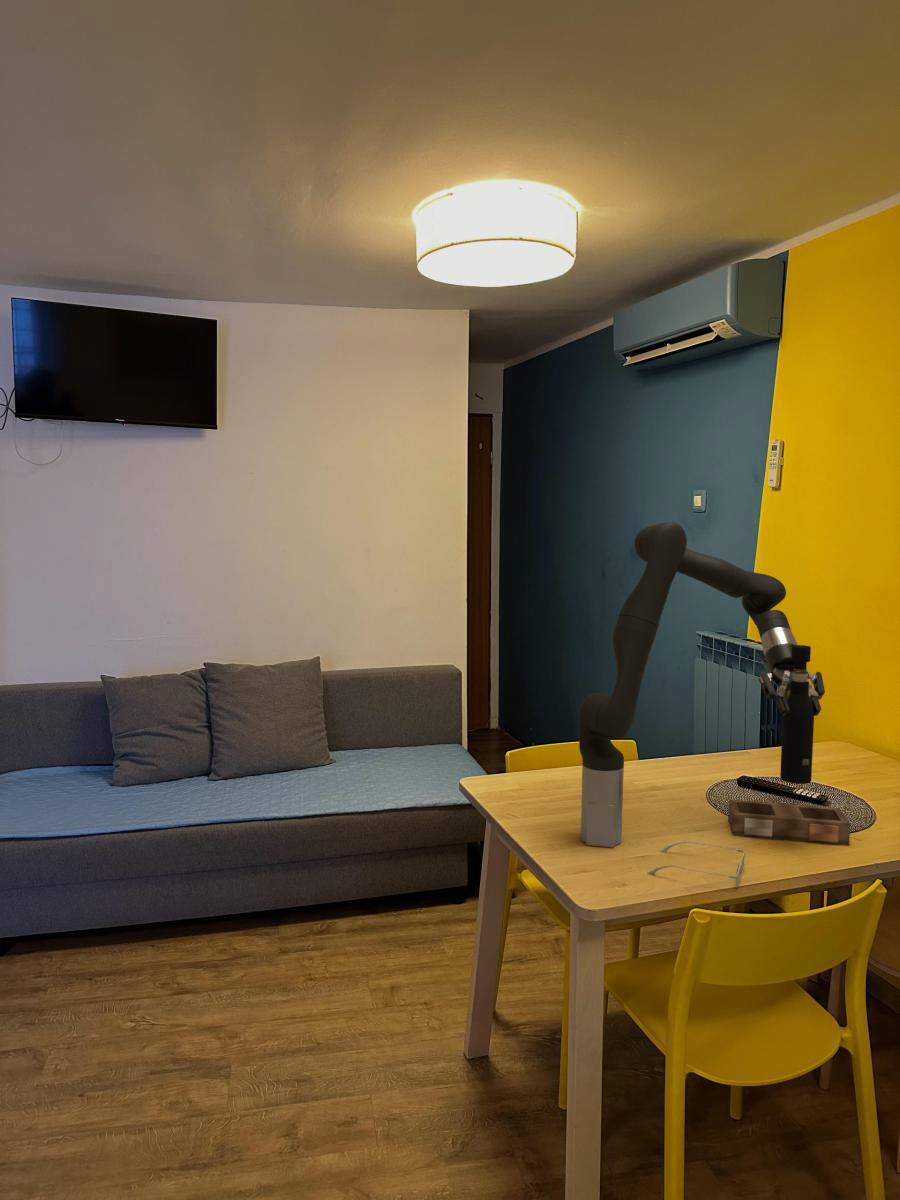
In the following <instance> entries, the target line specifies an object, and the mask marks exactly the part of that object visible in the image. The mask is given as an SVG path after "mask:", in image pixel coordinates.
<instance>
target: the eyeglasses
mask: <svg viewBox="0 0 900 1200" xmlns="http://www.w3.org/2000/svg"><path fill="white" fill-rule="evenodd" d="M680 844H695V845H697V844H698V845H701V843H699V842H693V841H682V842H681V841H680V842H676V843H672V844H670V845H667V846H665V847H663V848H662V849H659V853H667V852H668V850H670V848H672V847H675V846H676V845H677V846H678V845H680ZM702 845H704V846H707V844H705V843H702ZM708 846H710V847H713V845H712V844H708ZM714 847H716V848H721V849H728V850H732V851H737V853H742V856H741V860H740V863H738V864H737V868H736V871H735V874H736V875H730V874H729V875H727V874H726V875H724V874H719V873H713V872H708V871H707V872H706V871H702V870H696V869H691V868H687V867H684V866H683V867H682V866H680V865H679V866H678V865H677V866H676V865H664V866H660V867H656V868H654V869H651V870H649V871H647V872H646V875H649V876H654V875H655V874H656V873H657V872H658V871H660V870H662V869H666V868H679V869H684V870H688V871H689V870H690V871H694V872H695V871H696V872H700V873H705V874H711V875H716V876H722V877H727V878H729V879H732V880H733V879H734V880H735V888H738V885H739V882H740V880H741V879H740V877H741V874H743V868H744V865H745V858H746V857H745V856H746V855H745V854H746V851H745V850H744V849H739V848H738V849H735V848H734V849H733V848H729V847H728V848H727V847H723V846H719V845H718V846H716V845H714Z"/></svg>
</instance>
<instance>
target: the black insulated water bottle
mask: <svg viewBox="0 0 900 1200" xmlns="http://www.w3.org/2000/svg"><path fill="white" fill-rule="evenodd" d="M811 649H812V647H811V646H810V645H806V644H805V645H804V644H797V645H793V646H792V653H791V660H792V661H794V670H795V672H793V674H792V675H793V677H792V680H791V684H790V691H789V695H788V696H787V698H786V699H787V703H788V706H789V709H790V713H789V714H788V716H784V715H783V714H782V723H781V724H782V725H781V727H782V728H781V747H780V749H781V750H780V775H779V777H780V778H779V779H781V781H783V782H786V783H791V784H795V785H798V784H799V785H806V784H810V783H811V782H812V777H813V776H812V774H813V773H812V772H813V771H812V769H813V751H814V750H813V749H814V731H815V729H814V727H815V716H814V713H813V707H812V703H811V700H810V697H809V682H810V681H809V679H808V678H807V677H808V673H809V672H808V673H807V672H800V671H806V670H807V669H808V668H807V666H808V664H807V663H809V662H811V652H812V650H811ZM807 671H808V670H807ZM807 680H808V681H807Z"/></svg>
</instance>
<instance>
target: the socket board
mask: <svg viewBox="0 0 900 1200" xmlns="http://www.w3.org/2000/svg"><path fill="white" fill-rule="evenodd" d="M727 816H728V823H729V827H730V831H731V834H732V835H731V836H736V837H737V836H738V837H747V838H759V839H760V838H761V839H771V840H783V841H793V842H794V841H795V842H806V843H817V844H826V845H827V844H829V845H837V846H838V845H840V846H850V838H851V837H850V835H851V834H850V833H851V823H850V821H849V820H848V818H847V817H846V815H845V814H844V813H843V811H842V809H841V808H839V807H830V806H818V805H816V806H815V805H805V804H804V805H803V804H793V803H789V804H788V803H777V802H767V801H766V802H764V801H754V800H753V801H752V800H742V799H741V800H739V799H728V815H727Z"/></svg>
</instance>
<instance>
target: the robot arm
mask: <svg viewBox="0 0 900 1200" xmlns="http://www.w3.org/2000/svg"><path fill="white" fill-rule="evenodd" d="M687 540H688V539H687V533H686V531H685V529H684V528H683V527H682V525H681V524H679V523H678V522H677V523H676V522H673V521H668V522H660V523H657V524H651V525H648V526H646V527H644V528H642V529H641V530H640V531H638V532H637V534H636V537H635V539H634V550H635V552H636V554H637V556H638V557H639V558H640V559H641V560H642V561H643V562H646V566H645V569H644V572H643V575H642V576H641V578H640V579H639V582H637V584H636V585H635V587H634V588H633V589H632V591H631V592H630V594H629V595H628V596H627V598H626V600H625V601H624V603H623V604H622V606H621V609H620V611H619V613H618V616H617V620H616V622H615V625H614V628H613V632H612V638H611V639H612V647H613V648H612V649H613V654H614V657H615V663H616V668H617V669H616V670H617V674H616V675H617V676H616V681H615V685H614V688H613V692H612V695H608V694H604V693H598V692H597V693H596V692H592V693H590V694H588V695H587V696H586V697H584V698H583V700H582V702H581V704H580V707H579V711H578V740H579V741H578V743H579V744H578V747H579V753H580V755H581V758H582V762H581V763H582V764H581V765H582V769H581V770H582V772H581V773H582V774H581V806H580V807H581V809H580V840H581V841H582V842H583V843H585V845H587V846H595V847H604V848H605V847H606V848H615V846H618V845H619V844H621V843H622V841H623V840H622V839H623V811H624V810H623V806H624V805H623V803H624V799H623V798H624V776H625V775H624V769H625V767H624V766H625V757H624V754H623V753H622V751H621V750H619V749H618V748H617V747H616V746H615V745H614V744H613V743H612V742H613V741H611V740H616V741H617V740H622V739H623V738H624V737H626V736H627V734H628V733H629V732H630V730H631V728H632V725H633V722H634V718H635V714H636V710H637V706H638V701H639V695H640V690H641V685H642V680H643V677H644V674H645V669H646V666H647V662H648V660H649V656H650V653H651V649H652V647H653V644H654V641H655V638H656V635H657V631H658V628H659V627H660V626H659V625H660V622H661V617H662V614H663V610H664V608H665V606H666V605H665V604H666V602H667V599H668V595H669V593H670V589H671V586H672V584H673V582H674V579H675V576H676V574H677V573H680V574H682V575H685V576H687V577H689V578H692V579H694V580H697V581H698V582H701V583H703V584H705V585H708V586H709V587H711V588H713V589H715V590H717V591H718V592H721V593H722V594H725V595H727V596H729V597H731V598H735V599H738V598H741V605H742V608H743V609H744V611H745V612H746V614H748V616H749V618H750V619H751V621H752V622H753V624H755V626H756V628H757V630H758V635H759V637H760V641H761V646H762V647H761V648H762V652H763V654H764V657H765V660H766V661H765V662H766V663H767V666H768V669H769V672H770V673H767V672H765V671H762V672H761V673H760V676H759V677H758V682H759V684H760V687H761V688H762V690H763V692H764V695H765V697H766V699H767V700H769V701H772V700H774V701H775V702H776V703H777V707H778V709H779V713H780V714H782V716H783V715H784V716H788V714H789V713H790V709H789V706H788V703H787V699H788V698H787V697H786V696H785V694H786V692H790V684H791V680H792V677H793V675H792V674H793V672H795V670H794V661H792V660H791V653H792V646H793V645H798V642H797V640H796V637H795V636H794V633H793V631H792V628H791V625H790V623H789V621H788V617H787V616H786V614H785V613H784V612H783V611H782V610H779V609H774V608H775V607H777V606H778V605H779V604H780V603H781V602H783V601H784V599H785V598H786V596H787V589H786V586H785V585H784V584H783V583H782V581H780V580H779V579H778V578H776V577H774V576H772V575H769V574H765V573H759V572H756V571H755V572H754V571H748V570H745V569H742V568H741V567H738V566H737V565H734V564H733V563H731V562H729V561H726V560H724V559H721V558H718V557H716V556H713V555H707V554H704V553H700V552H697V551H694V550H691V549H689V548H687V546H688V545H687V543H688V541H687ZM800 672H807V673H808V677H807V678H808V680H807V681H809V680H810V681H809V697H810V700H811V703H812V707H813V713H814V717H815V716H816V717H817V716H819V714H820V712H821V711H822V706H821V703H820V700H822V698H823V696H824V695H825V693H826V691H825V685H824V679H823V674H822V672H820V671H815V673H812V672H811V673H810V672H809V671H808V670H806V671H800ZM771 681H772V682H773V683H775V684H776V685H777V689H776V690H775V688H774V685H773V683H772V682H771Z"/></svg>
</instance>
